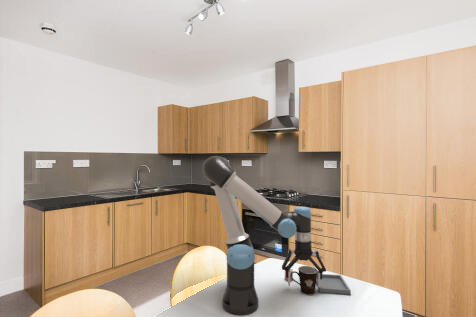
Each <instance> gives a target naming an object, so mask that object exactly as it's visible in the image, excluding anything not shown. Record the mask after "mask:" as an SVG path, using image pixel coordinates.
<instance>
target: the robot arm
mask: <svg viewBox="0 0 476 317" xmlns="http://www.w3.org/2000/svg"><path fill="white" fill-rule="evenodd" d="M202 173H203V175H204V177H205V178H206V179H207V180H208V182H209V183H208V184H209V186H210V188H211V189H213V190H214V194H215V196H216V200H217V204H218V208H219V211H220V214H221V218H222V222H223V225H224V228H225V233H226V235H227V238H226V240H225V245H226V249H227V251H226V286H225V291H224V294H223V297H222V307H223V310H224V311H226V312H227V313H229V314H231V315H235V316H247V315H250V314H253V313H254V312H256V311H257V310H258V308H259V297H258V294H257V291H256V288H255V258H256V256H255V251H254V247H253V244H252V242H251V239H250V234H248V233H246V232H245V229H244V226H243V225H244V224H243V222H242V218H241V214H240V211H239V207H238V204H237V200H238V201H240V202H241V203H242V204H244V205H245V206H246V207H247V208H249V210H251V211H252V212H254V213H255V214H256V215H257V216H258V217H260V218H261V219H262V220H264V221H265V222H266V223H267V224H269V227H270V228H273V229H274V230H275V231H277V233H278V234H279V235H280V236H281V237H283V238H286V239H290V238H292V237H294V239H295V240H294V250H292V249H291V248H288V249H287V250H288V252H287V255H286V257H285V259H284V261H283V262H282V265H281V269H282V270H283V271H284V272H285V271H286V278H288V281H287V283H288V287H290V286H291V281H290V269H292V268H293V266H294V265H295V264H296V263H297V262H298V261H299V260H300V261H306V262H307V261H310V262H311V264H312V265H313V266H314V268H316V269H317V285H318V287H320V279H322V274H324V273H325V272H327V268H326V267H325V264H324V263H323V261H322V259H321V258H320V253H319V251H318V249H315V250H312V214H311V208H309V207H307V206H296V207H294V210H293V211H281V210H280V209H279V208H278V207H277V206H276V205H274V204H273V203H271V202H270V200H268V199H266V198H265V197H264V196H263V195H261V194H260V193H259V192H258V191H256V190H255V189H254V188H253V187H251V185H249V184H248V183H247V182H245V181H244V180H242V179H241V178H240V177H239V176H238V175H237V172H236V171H235V170H234V169H233V168H232V166H231V164H230V162H229V160H228V159H227V158H225V157H222V156H220V155H219V156H218V155H212V156H210V157H208V158H207V159H206V160H205V161H204V163H203V166H202ZM236 199H237V200H236ZM293 255H295V256H294V257H293V259H291V257H292V256H293ZM313 255H314V256H315V257H316V259H317V261H318V262H319V264H317V263H316V261H315V260H314V259H313V257H312V256H313ZM290 259H291V261H290ZM289 261H290V262H289ZM319 265H320V266H321V267H320V266H319ZM317 285H316V286H317ZM318 287H317V288H318Z"/></svg>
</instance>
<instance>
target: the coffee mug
mask: <svg viewBox="0 0 476 317" xmlns="http://www.w3.org/2000/svg"><path fill="white" fill-rule="evenodd" d="M317 271H318V269H317V268H316V267H315V266H314V267H313V266H311V265H301V266H299V267H298V271H294V270H293V272H291V275H292V274H297V276H298V277H299V281H297V280H295V279H294V277H293V278H292V276H291V275H290V276H291V278H292V279H293V281H292V282H295V283H296V284H297V285H299V287H300V292H301V293H302V294H305V295H308V296H313V295H314V294H315V293H316V287H317V285H316V279H317Z"/></svg>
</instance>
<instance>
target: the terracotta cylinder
mask: <svg viewBox="0 0 476 317" xmlns="http://www.w3.org/2000/svg"><path fill="white" fill-rule="evenodd" d="M293 271H294V270H293V269H292V268H290V275H291V272H293ZM293 274H294V273H293ZM293 274H292V275H291V276H292V278H293V279H294V277H293ZM291 276H290V282H294V281H293V279H292V278H291ZM284 281H286V282H288V278H286V271H285V270H284Z"/></svg>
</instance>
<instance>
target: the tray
mask: <svg viewBox="0 0 476 317" xmlns="http://www.w3.org/2000/svg"><path fill="white" fill-rule="evenodd" d="M316 287H317V290H318V292H319V294H324V295H325V294H327V295H338V296H339V295H343V296H345V295H346V296H351V295H352V294H351V293H352V292H351V288H350V287H349V285H348V284H347V282H346V281H345V279H344V277H343V276H342V275H341V274H330V273H329V274H325V273H322V279H320V287H318V285H317V279H316Z"/></svg>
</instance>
